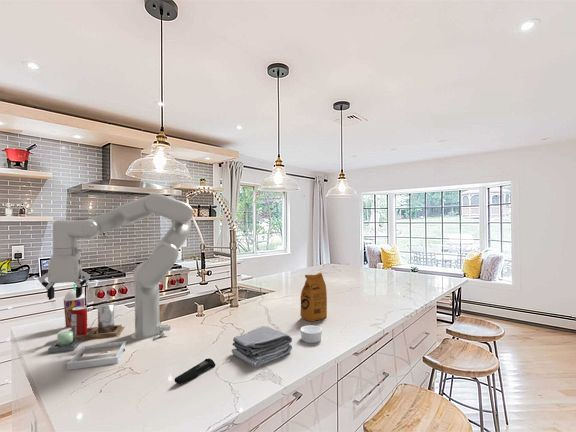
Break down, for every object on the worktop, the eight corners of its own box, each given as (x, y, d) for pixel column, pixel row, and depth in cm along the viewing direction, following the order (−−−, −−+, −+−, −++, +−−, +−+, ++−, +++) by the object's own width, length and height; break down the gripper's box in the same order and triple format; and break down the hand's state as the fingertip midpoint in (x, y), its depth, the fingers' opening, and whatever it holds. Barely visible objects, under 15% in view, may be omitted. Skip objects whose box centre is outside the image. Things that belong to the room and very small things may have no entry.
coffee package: (297, 317, 155) (297, 273, 155) (316, 313, 163) (316, 270, 163) (310, 323, 147) (310, 276, 147) (329, 317, 155) (329, 273, 155)
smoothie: (74, 330, 140) (74, 286, 140) (59, 329, 141) (58, 285, 141) (89, 324, 148) (89, 282, 148) (75, 323, 150) (74, 281, 150)
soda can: (90, 333, 133) (89, 305, 133) (82, 338, 128) (81, 309, 128) (76, 333, 133) (76, 305, 133) (68, 338, 128) (68, 309, 128)
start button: (74, 340, 122) (74, 330, 122) (70, 345, 117) (70, 335, 117) (60, 342, 120) (60, 332, 120) (55, 347, 116) (55, 336, 116)
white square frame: (126, 346, 123) (126, 341, 123) (117, 363, 108) (117, 357, 108) (82, 351, 118) (82, 345, 118) (67, 369, 104) (67, 363, 104)
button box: (81, 345, 124) (81, 337, 124) (73, 353, 116) (73, 345, 116) (57, 348, 121) (57, 340, 121) (48, 356, 114) (48, 348, 114)
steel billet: (115, 329, 137) (115, 302, 137) (112, 334, 131) (112, 306, 131) (100, 331, 135) (100, 303, 135) (96, 336, 130) (96, 307, 130)
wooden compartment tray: (124, 329, 141) (124, 323, 141) (118, 339, 129) (118, 333, 129) (68, 334, 135) (68, 328, 135) (56, 346, 122) (56, 339, 122)
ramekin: (324, 336, 130) (324, 326, 130) (319, 345, 122) (319, 334, 122) (303, 334, 133) (303, 324, 133) (297, 342, 125) (297, 331, 125)
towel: (293, 353, 115) (293, 332, 116) (252, 369, 103) (252, 346, 103) (268, 341, 127) (268, 322, 127) (229, 354, 115) (229, 333, 115)
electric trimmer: (171, 386, 94) (171, 375, 94) (208, 364, 107) (207, 355, 107) (179, 389, 92) (179, 379, 92) (216, 366, 106) (216, 357, 105)
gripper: (93, 250, 125) (94, 294, 125) (42, 252, 120) (42, 297, 120) (87, 252, 118) (87, 298, 118) (32, 254, 113) (33, 302, 113)
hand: (65, 297), depth 119 cm, fingers open, 8 cm apart
